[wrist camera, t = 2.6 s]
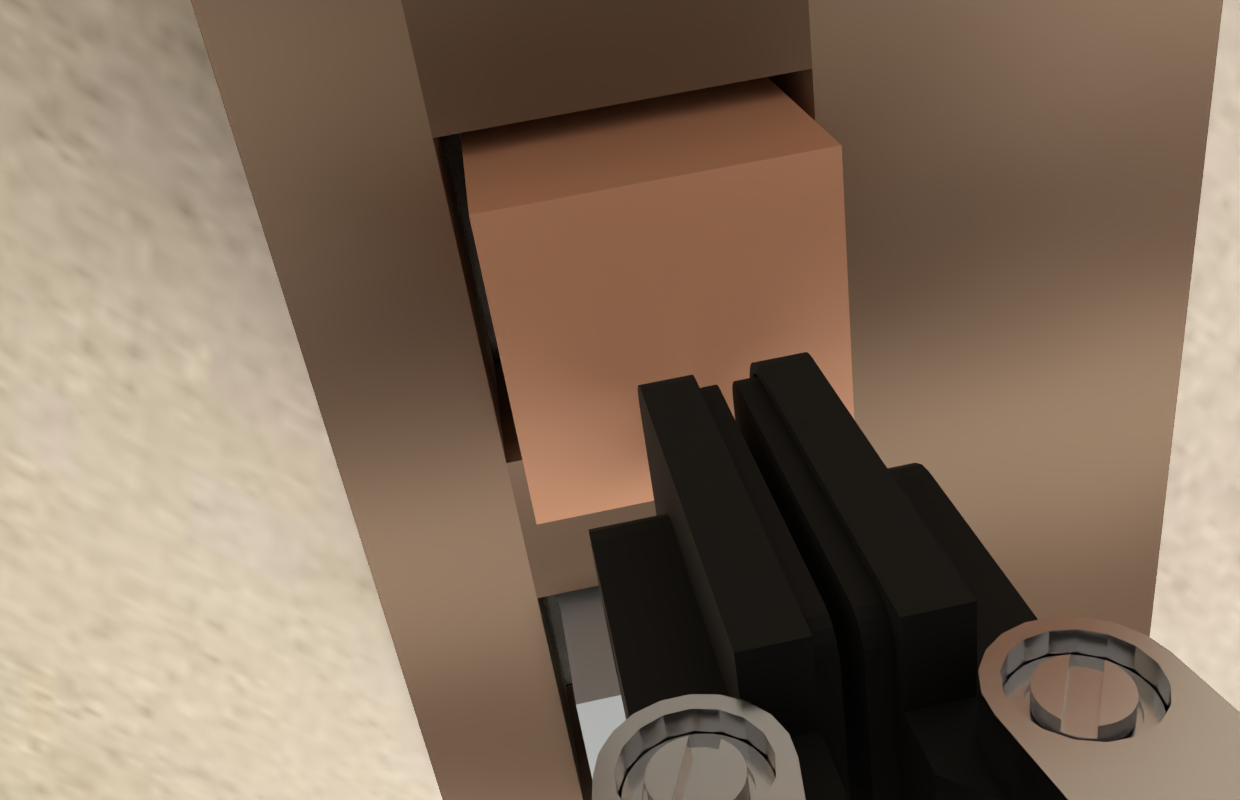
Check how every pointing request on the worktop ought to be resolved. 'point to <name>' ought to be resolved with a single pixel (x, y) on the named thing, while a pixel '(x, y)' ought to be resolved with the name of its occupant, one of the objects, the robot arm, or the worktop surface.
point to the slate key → (591, 668)
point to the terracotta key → (652, 269)
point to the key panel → (877, 285)
